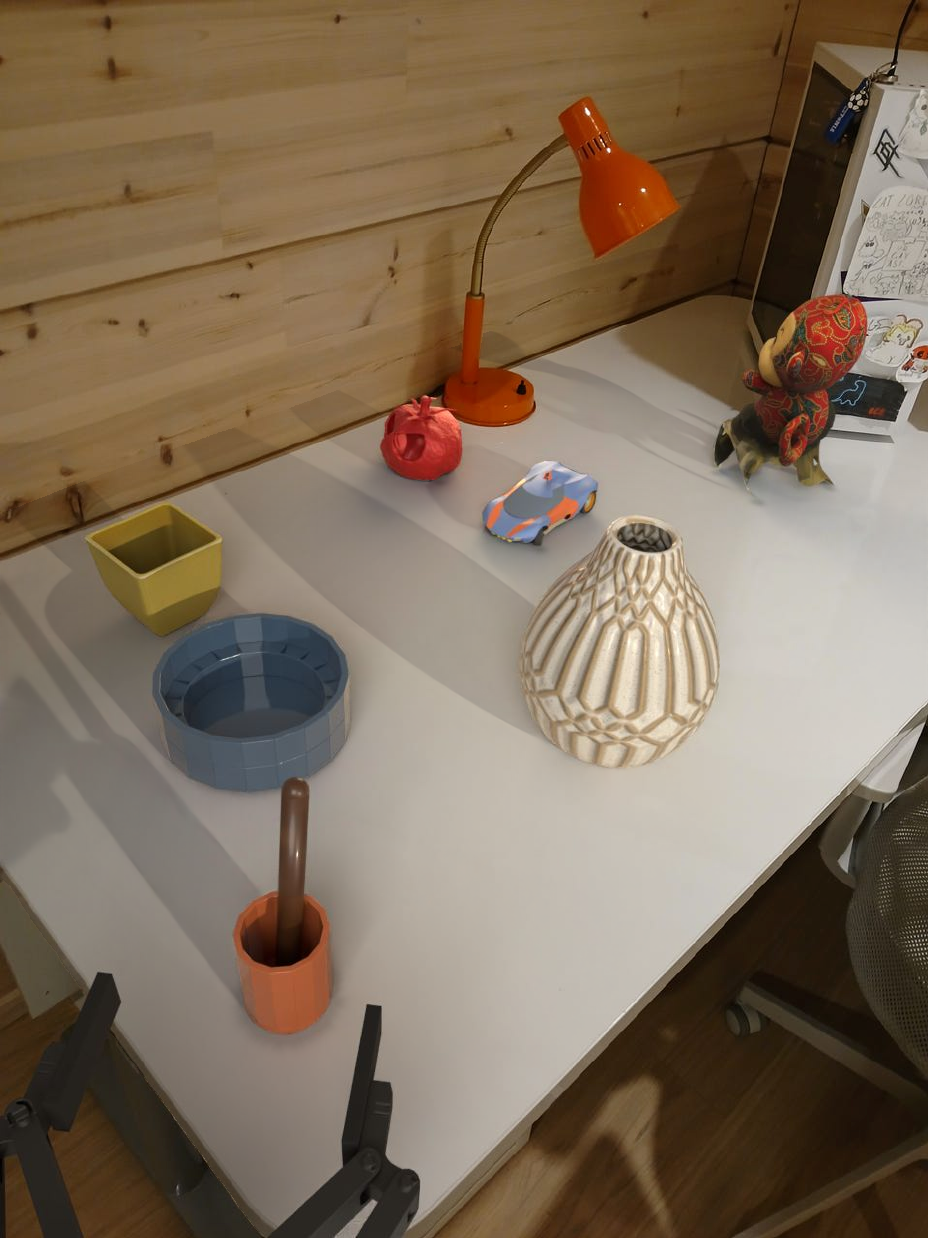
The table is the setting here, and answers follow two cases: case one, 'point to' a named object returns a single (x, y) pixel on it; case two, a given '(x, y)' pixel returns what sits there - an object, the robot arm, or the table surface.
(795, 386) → the stuffed monkey
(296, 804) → the stick
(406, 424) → the pomegranate
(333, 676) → the bowl
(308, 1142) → the table surface
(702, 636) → the vase
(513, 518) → the toy car
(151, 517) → the flower pot
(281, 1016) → the holder
